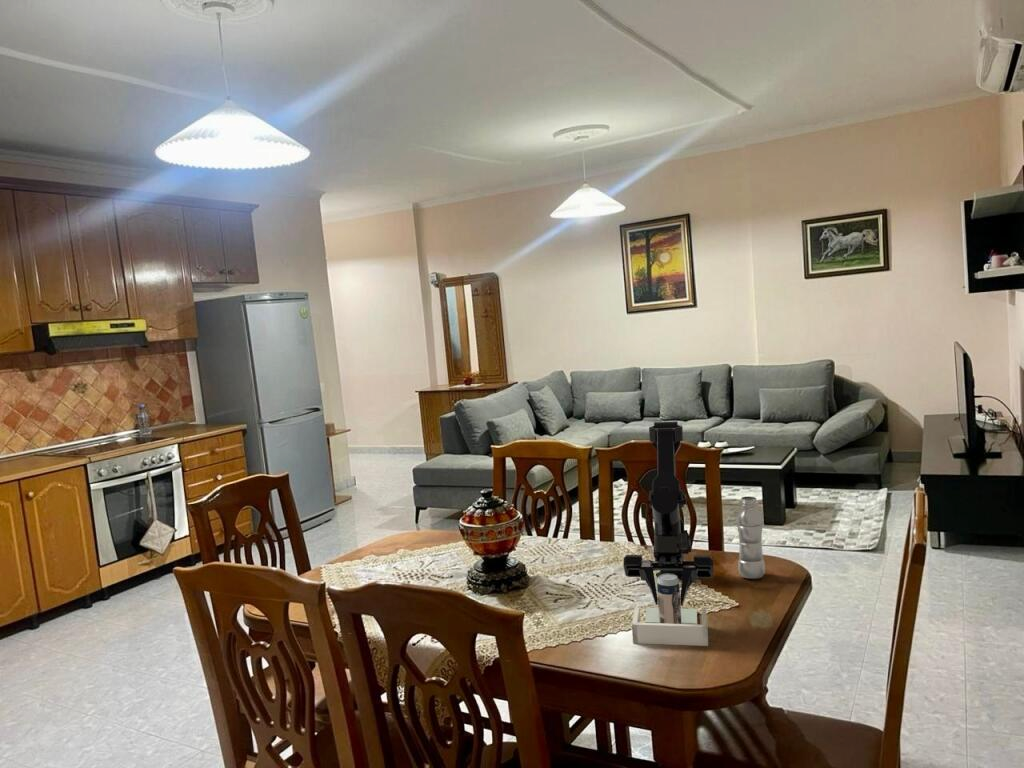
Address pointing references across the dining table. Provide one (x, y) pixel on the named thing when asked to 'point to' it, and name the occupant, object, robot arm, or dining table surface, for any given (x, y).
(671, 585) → the pill bottle
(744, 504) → the plastic bottle
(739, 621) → the dining table surface
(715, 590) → the dining table surface
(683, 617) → the mat
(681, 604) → the robot arm
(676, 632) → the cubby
